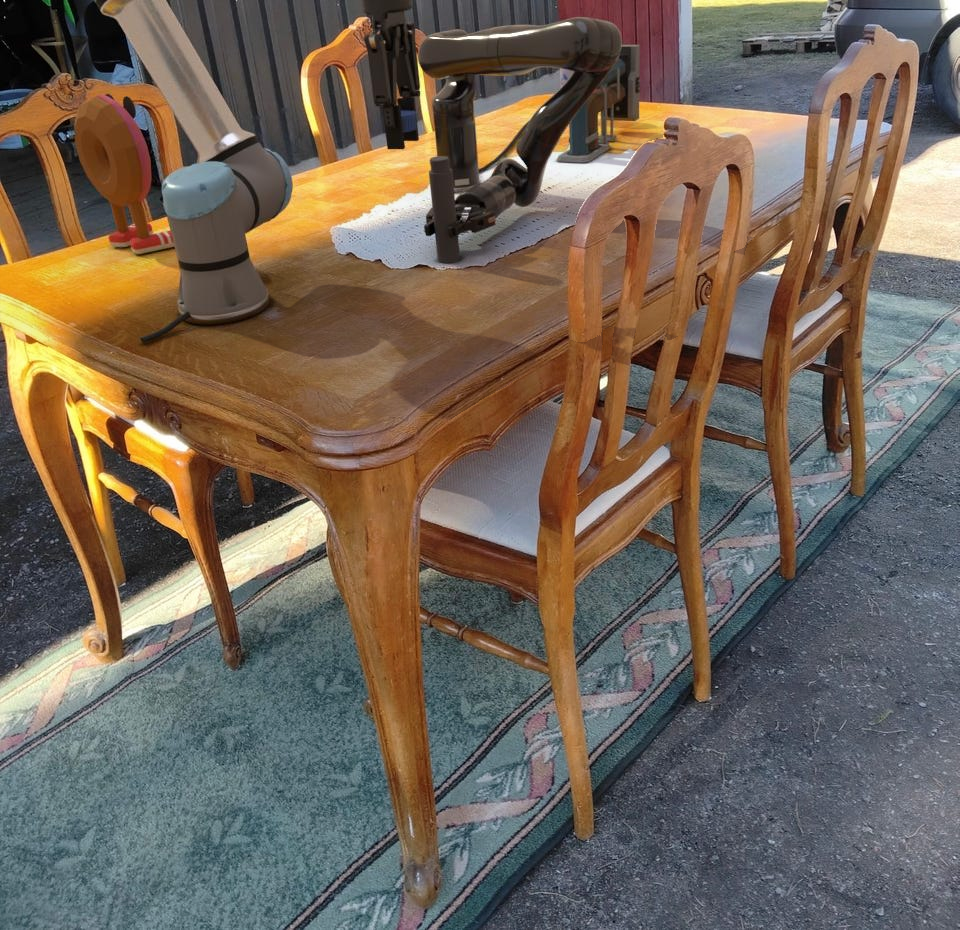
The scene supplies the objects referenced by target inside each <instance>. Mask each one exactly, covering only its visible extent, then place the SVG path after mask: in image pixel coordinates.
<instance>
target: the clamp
mask: <svg viewBox="0 0 960 930" xmlns="http://www.w3.org/2000/svg"><path fill="white" fill-rule="evenodd" d="M640 50H641V45H640V44H622V46H621V52H620V55H619V57H618V59H617V61H616V63H615V65H614V66H613V67H612V69H611V70H610V72H609V73H608V74H607V75H606V77H605V78H604V79H603V80H602V82H601V83H600V84H599V85H598V87H597V88H596V89H595V90H598V91H596V92H593V93H592V94H591V96H590V97H589V98H588V99H587V101H586V102H585V103H584V104H583V106H582V107H581V108H580V110H579V111H578V112H577V114H576V115H575V116H574V118H573V119H572V120H571V122H570V123H569V125H568V128H569V129H568V130H569V136H568V143H569V149H568V150H566V151H564V152H562V153H560V154H558V156H557V158H556V161H558V162H566V163H583V164H584V163H589V162H591V161H593V160H594V159H596V158H597V157H599V156H601V155H602V154H604V153H605V152H607V151H609V150H610V149H611V148H612V147H611V146H610V142H614V141H616V140H618V136H617V135H615V134H614V121H615V122H636V121H637V120H640V77H641V76H640V72H641V71H640V69H641V67H640V66H641V65H640V64H641V63H640V61H641V60H640V59H641V51H640ZM599 113H600V132H599ZM608 121H610V127H609V128H610V131H609V134H608V124H607V123H608ZM599 133H600V134H599Z"/></svg>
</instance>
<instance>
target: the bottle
mask: <svg viewBox="0 0 960 930" xmlns="http://www.w3.org/2000/svg"><path fill="white" fill-rule="evenodd" d="M449 161H450V160H449V157H447V156H437V155H436V156H433V157H430V158H429V166H430V170H429V171H428V179H429V187H430V197H431V198H430V199H431V208H432V209H433V219H434V229H435V234H434V237H435V247H436V249H435V250H436V257H437V262H439V263H442V264H451V263H455V262H458V261H460V260H461V252H460V244H459V243H460V242H459V235H458V236H456V237H455V238H449V231H448V227H449V226H450V225H451V224H453V223H455V222H456V221H457V218H456V206H455V200H456V198H455V197H456V196H455V195H456V194H455V192H454V184H453V172H452V169H450V166H449Z"/></svg>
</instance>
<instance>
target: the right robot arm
mask: <svg viewBox="0 0 960 930" xmlns="http://www.w3.org/2000/svg"><path fill="white" fill-rule="evenodd" d="M622 38H623V37H622V33H621V31H620V30H619V28H618V27H617V25H616V24H615V23H612V22H611V21H607V20H603V19H597V18H591V17H584V16H576V17H571V18H567V19H564V20H560V21H555V22H552V23H548V24H544V25H534V24H511V25H510V24H509V25H500V26H495V27H490V28H486V29H482V30H478V31H475V32H472V33H467V31H465V30H463V29H460V28H459V29H458V28H457V29H450V30H445V31H439V32H434V33H431V34H428V35H427V36H426V37H425V38H423V40H422V41H421V42H420V44H419V47H418V50H417V62H418V64H419V66H420V68H421V70H422V72H424V74H425V75H427V76H428V77H430V78H431V79H435V80H444V79H445V81H446V82H445V84H444V86H443V88H442V89H440V91H439V92H438V93H436V94H435V95H434V96H433V98H432V101H431V106H432V116H433V126H434V135H435V136H434V137H435V149H436V156H447V157H449V160H450V161H449V166H450V169H452V172H453V184H454V193H459V194H458V196H457V197H456V198H455V206H456V218H457V221H456V222H455V223H453V224H451V225H450V226H449V227H448V231H449V238H455V237H456V236H458V237H459V236H460V235H461V234H467V233H469V232H471V233H472V234H476V233H479V232H481V231H484V230H486V229H489V228H491V227H494V226H496V219H497V218H498V217H500V216H501V215H502V213H504V212H506V211H507V210H509V209H511V207H512V206H513V205H516V206H518V207H519V208H527V207H529V206H531V205H532V204H534V202H535V201H536V200H537V199H538V197H539V194H540V192H541V189H542V186H543V181H544V176H545V171H546V168H547V164H548V162H549V160H550V157H551V156H552V154H553V153H554V151H555V150H556V147H557V146H558V143H559V141H560V139H561V138H562V136H563V135H564V133H565V131H566V129H567V128H568V127H569V123H570V122H571V120H572V119H573V118H574V116H575V115H576V114H577V112H578V111H579V110H580V108H581V107H582V106H583V104H584V103H585V102H586V101H587V99H588V98H589V97H590V96H591V95H592V94H594V93H595V90H597V89H596V88H597V87H598V85H599V84H600V83H601V82H602V80H603V79H604V78H605V77H606V75H607V74H608V73H609V72H610V70H611V69H612V67H613V66H614V65H615V63H616V61H617V59H618V57H619V55H620V52H621V46H622V45H623V39H622ZM538 68H553V69H559V70H560V69H566V70H570V71H573V73H572V75H571V76H570V77H569V79H568V80H567V81H566V83H565V84H564V85H563V86H562V87H561V86H560V88H559V89H558V90H557V91H556V92H555V93H554V94H552V95H551V96H550V97H549V98H548V99H547V100H546V101H545V102H543V104H541V105H540V106H539V108H538V109H536V111H535V112H534V113H533V114H532V116H531V117H530V119H529V120H528V121H527V122H526V123H525V124H524V125H523V126H522V127H521V129H519V131H518V132H517V133H516V135H515V136H514V138H513V139H512V140H511V141H510V142H509V144H508V145H507V146H506V147H505V148H504V149H503V150H502V152H500V153H499V155H497V156H496V157H495V158H494V159H493V160H491V161H489V162H488V163H487V164H486V165H484V166H482V167H479V155H478V154H479V153H478V142H477V141H478V139H477V127H476V116H475V115H476V114H475V98H476V93H477V76H497V77H506V76H507V77H508V76H510V77H511V76H521V75H526V74H529V73H531V72H533V71H535V70H536V69H538ZM518 139H519V140H518ZM517 141H518V142H517ZM516 142H517V144H516ZM514 144H516V146H515V147H516V148H515V151H516V154H517V156H518V157H519V158H520V160H521V161H522V162H523V164H524V165H525V166H524V165H522V164H521V163H520V162H518V161H517V160H515V159H512V158H503V157H504V156H505V155H506V154H507V153H508V152H509V151H510V149H511V148H512V147H513V146H514ZM502 158H503V159H502ZM496 163H497V164H496ZM495 164H496V166H495V167H494V169H493V171H492V173H491V175H490V177H488V178H487V179H485V180H484V181H482V182H481V180H480V173H483V172H484V171H486V170H488V169H489V168H491V167H492V166H493V165H495ZM423 228H424V234H425V236H426V237H431V236H433V235H435V229H434V219H433V209H432V207H431V208H430V209H429V210H428V211H427V213H426V215H425V224H424V225H423Z"/></svg>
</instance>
